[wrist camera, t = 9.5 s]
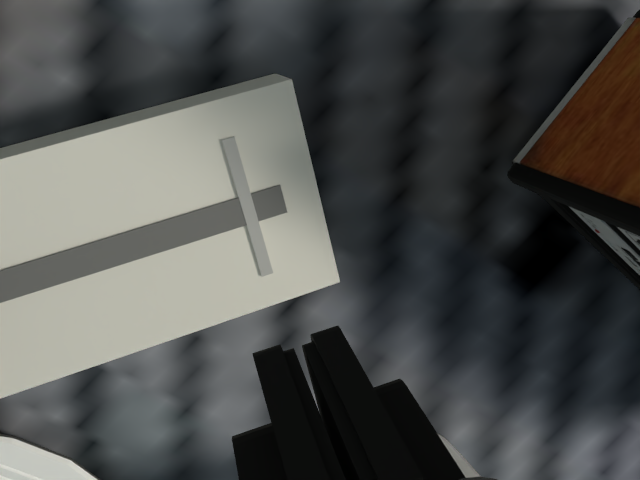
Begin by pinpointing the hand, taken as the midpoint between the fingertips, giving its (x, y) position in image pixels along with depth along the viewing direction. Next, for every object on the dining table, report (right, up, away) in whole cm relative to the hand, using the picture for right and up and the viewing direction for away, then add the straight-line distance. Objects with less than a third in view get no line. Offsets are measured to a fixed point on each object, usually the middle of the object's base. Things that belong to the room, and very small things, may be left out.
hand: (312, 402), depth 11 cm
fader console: (-11, +3, +15) cm, 19 cm away
